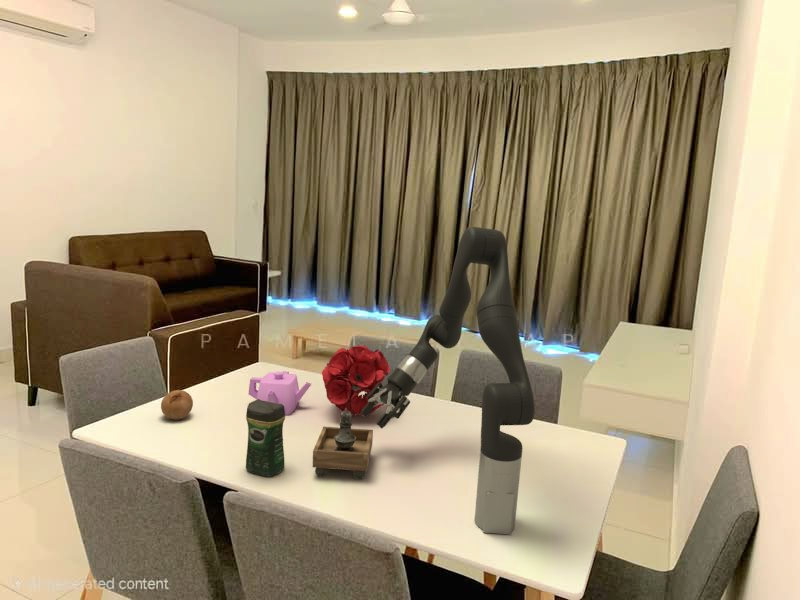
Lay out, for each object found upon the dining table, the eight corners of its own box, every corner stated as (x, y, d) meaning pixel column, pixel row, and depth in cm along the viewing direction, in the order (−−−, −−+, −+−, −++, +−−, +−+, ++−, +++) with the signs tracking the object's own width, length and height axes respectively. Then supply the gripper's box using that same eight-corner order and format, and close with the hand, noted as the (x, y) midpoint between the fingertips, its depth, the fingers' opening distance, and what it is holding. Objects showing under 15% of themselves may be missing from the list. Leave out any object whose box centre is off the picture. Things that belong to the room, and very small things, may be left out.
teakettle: (285, 395, 209) (286, 362, 207) (313, 409, 197) (314, 374, 195) (242, 405, 198) (242, 370, 195) (269, 421, 186) (269, 384, 183)
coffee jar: (289, 467, 155) (290, 401, 152) (271, 480, 148) (272, 410, 145) (259, 459, 159) (259, 394, 156) (240, 471, 152) (240, 403, 148)
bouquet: (339, 414, 212) (302, 396, 185) (360, 353, 218) (327, 327, 192) (392, 431, 204) (362, 414, 177) (413, 367, 210) (386, 342, 184)
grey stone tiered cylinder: (329, 451, 156) (330, 408, 154) (341, 443, 161) (343, 402, 159) (347, 456, 153) (349, 413, 151) (359, 448, 158) (361, 406, 156)
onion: (180, 431, 182) (179, 409, 176) (154, 419, 183) (153, 396, 178) (199, 411, 189) (199, 389, 183) (175, 400, 191) (174, 378, 185)
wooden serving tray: (366, 482, 150) (367, 454, 149) (312, 478, 150) (313, 450, 149) (371, 454, 166) (373, 429, 164) (322, 451, 166) (323, 426, 165)
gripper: (386, 360, 168) (350, 404, 164) (415, 374, 157) (376, 422, 153) (400, 375, 172) (365, 419, 168) (429, 390, 161) (392, 437, 157)
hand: (370, 420), depth 160 cm, fingers open, 8 cm apart
